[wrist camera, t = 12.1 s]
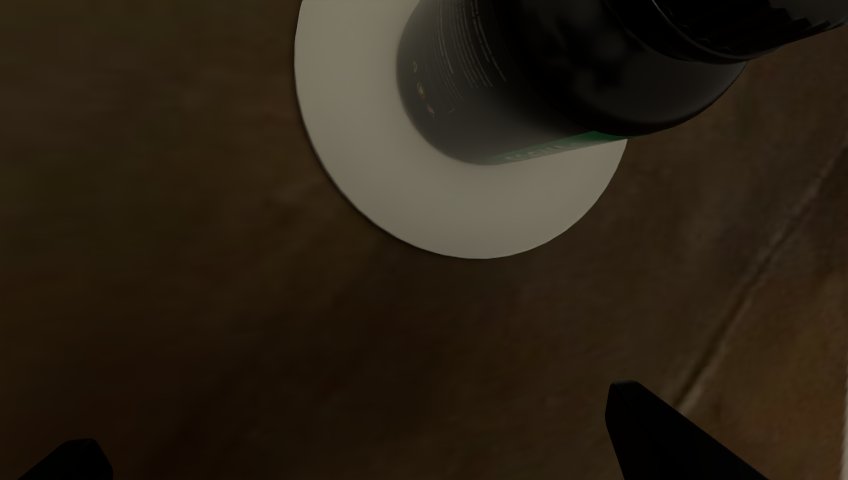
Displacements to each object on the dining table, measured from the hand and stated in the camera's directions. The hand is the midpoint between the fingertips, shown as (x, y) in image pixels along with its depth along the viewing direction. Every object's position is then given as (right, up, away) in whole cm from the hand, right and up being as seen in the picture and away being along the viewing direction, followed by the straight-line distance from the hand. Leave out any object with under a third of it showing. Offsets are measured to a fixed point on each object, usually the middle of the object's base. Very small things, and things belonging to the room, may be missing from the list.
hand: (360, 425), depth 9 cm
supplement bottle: (+3, +10, +10) cm, 14 cm away
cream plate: (+3, +10, +11) cm, 15 cm away
